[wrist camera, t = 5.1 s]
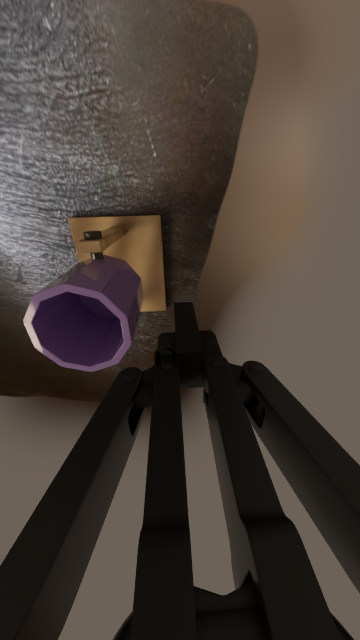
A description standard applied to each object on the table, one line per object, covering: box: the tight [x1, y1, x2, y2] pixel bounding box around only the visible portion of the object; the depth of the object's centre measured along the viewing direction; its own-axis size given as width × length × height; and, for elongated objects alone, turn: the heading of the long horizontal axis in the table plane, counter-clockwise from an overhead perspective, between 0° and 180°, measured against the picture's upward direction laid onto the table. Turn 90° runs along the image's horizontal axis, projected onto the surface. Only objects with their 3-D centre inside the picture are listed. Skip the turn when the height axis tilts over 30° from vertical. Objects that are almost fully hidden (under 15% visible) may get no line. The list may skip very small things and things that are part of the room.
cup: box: [23, 252, 144, 372], centre depth 20 cm, size 8×9×9 cm
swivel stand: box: [68, 215, 166, 311], centre depth 26 cm, size 12×14×12 cm
